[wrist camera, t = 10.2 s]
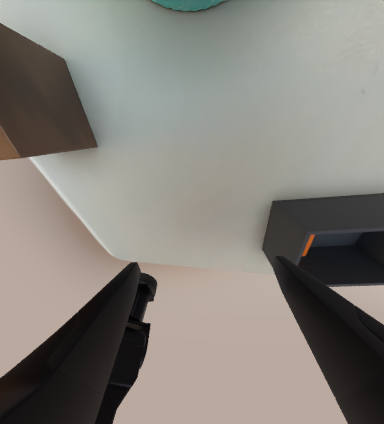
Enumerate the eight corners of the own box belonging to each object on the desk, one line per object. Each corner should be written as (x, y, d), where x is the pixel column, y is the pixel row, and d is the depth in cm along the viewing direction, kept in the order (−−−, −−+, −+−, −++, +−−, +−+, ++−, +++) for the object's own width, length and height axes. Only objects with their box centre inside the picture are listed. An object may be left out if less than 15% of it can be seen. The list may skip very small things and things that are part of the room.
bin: (353, 244, 25) (409, 284, 18) (262, 249, 26) (284, 288, 19) (386, 193, 20) (479, 222, 14) (272, 200, 21) (307, 231, 14)
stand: (98, 146, 18) (21, 158, 10) (54, 151, 18) (-54, 165, 10) (64, 58, 14) (-108, -39, 6) (8, 66, 14) (-222, -16, 6)
